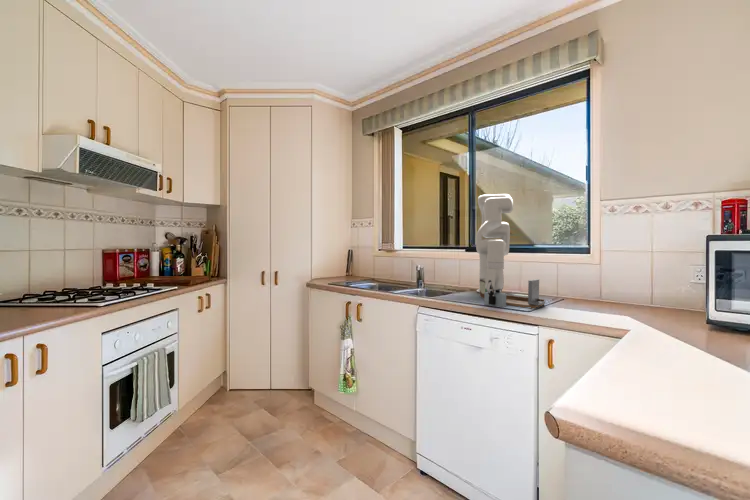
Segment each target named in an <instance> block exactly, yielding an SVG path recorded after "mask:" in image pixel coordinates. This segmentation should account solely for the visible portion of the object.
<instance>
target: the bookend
mask: <svg viewBox="0 0 750 500" xmlns="http://www.w3.org/2000/svg"><path fill="white" fill-rule="evenodd" d="M527 283H528V285H527V286H528V289H527V291H528V293H527V295H528V296H527V297H528V304H531V305H541V304H544V305H545V304H546V301H545V300H544V301H539V299H540V279H538V278H537V279H536V278H535V279H529V280H528V282H527Z"/></svg>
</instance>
